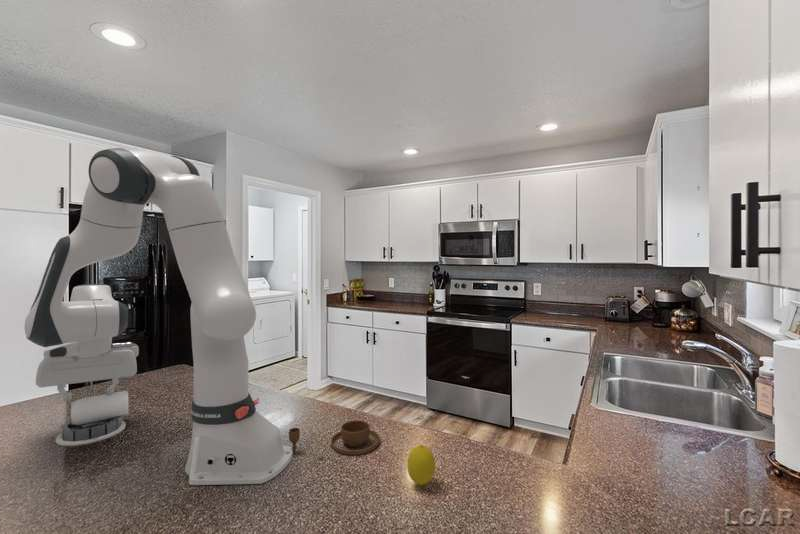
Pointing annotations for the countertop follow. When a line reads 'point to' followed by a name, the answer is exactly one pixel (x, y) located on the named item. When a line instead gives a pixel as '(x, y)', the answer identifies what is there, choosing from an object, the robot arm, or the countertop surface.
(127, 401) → the can
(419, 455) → the lemon
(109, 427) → the notched rim bowl
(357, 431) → the place setting
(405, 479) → the countertop surface
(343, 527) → the countertop surface
